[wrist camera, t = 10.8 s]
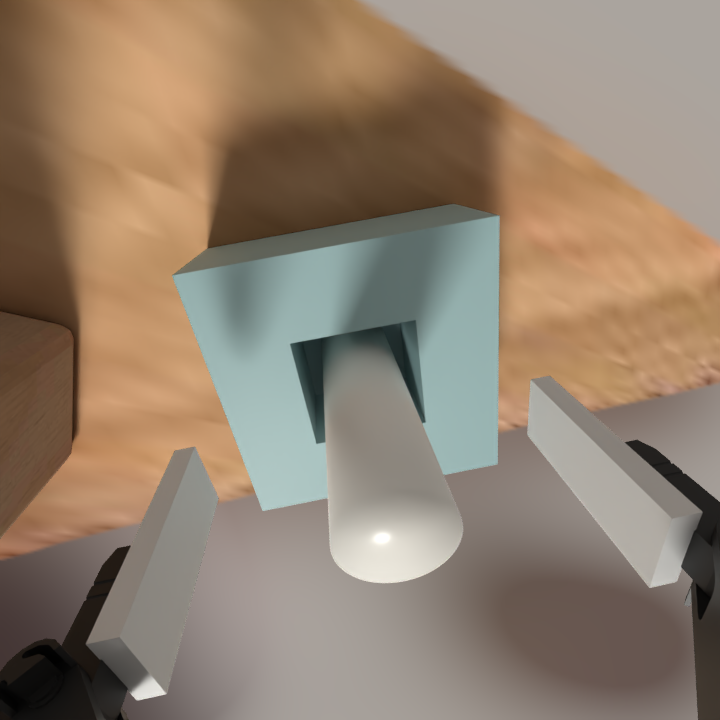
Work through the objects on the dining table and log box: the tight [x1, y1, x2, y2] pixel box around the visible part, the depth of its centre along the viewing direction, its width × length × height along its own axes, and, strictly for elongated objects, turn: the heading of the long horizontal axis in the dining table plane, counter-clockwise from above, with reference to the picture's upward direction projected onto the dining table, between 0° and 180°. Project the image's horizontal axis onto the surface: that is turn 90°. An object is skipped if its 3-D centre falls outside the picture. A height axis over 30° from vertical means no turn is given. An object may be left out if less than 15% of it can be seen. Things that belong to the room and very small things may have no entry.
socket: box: [172, 204, 499, 511], centre depth 22 cm, size 14×14×6 cm
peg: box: [322, 327, 463, 583], centre depth 18 cm, size 4×4×14 cm
